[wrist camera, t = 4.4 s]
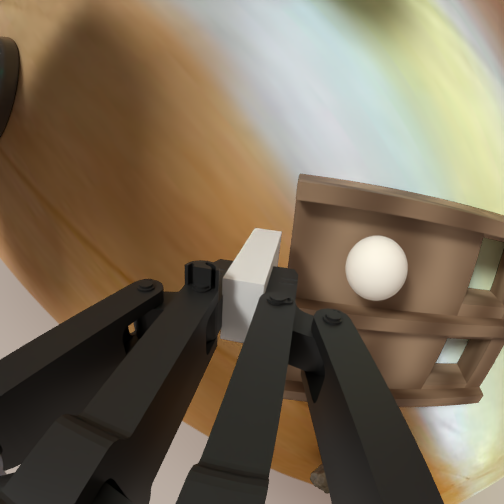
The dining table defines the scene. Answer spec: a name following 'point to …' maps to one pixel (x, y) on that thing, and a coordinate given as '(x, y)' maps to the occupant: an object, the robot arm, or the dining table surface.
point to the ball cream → (376, 268)
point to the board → (412, 292)
